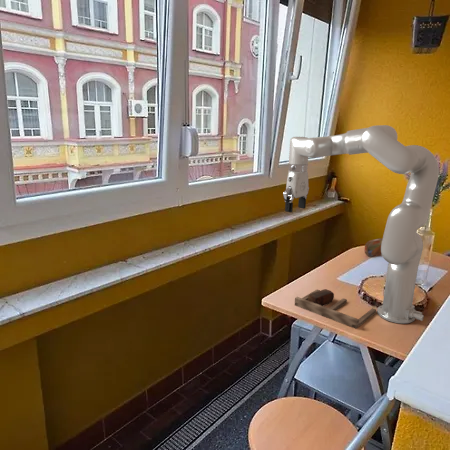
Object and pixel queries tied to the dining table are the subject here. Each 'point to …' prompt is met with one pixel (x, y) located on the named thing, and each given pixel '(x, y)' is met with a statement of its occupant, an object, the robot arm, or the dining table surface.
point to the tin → (373, 248)
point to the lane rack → (333, 311)
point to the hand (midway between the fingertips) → (295, 209)
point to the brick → (321, 297)
